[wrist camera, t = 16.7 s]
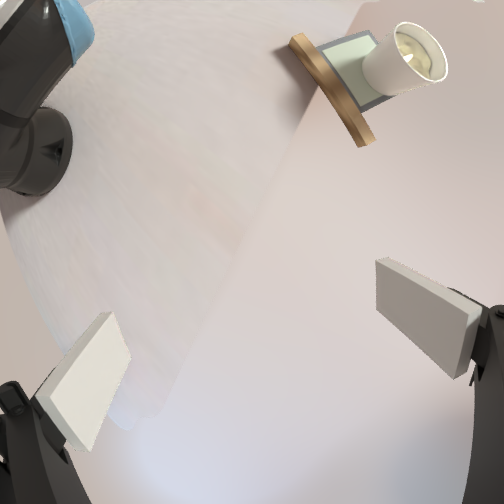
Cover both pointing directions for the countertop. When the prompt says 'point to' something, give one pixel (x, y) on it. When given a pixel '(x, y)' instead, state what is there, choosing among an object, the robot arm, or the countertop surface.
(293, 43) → the brown wooden bar
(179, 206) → the countertop surface
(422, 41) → the candle holder
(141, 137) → the countertop surface
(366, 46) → the square tile
